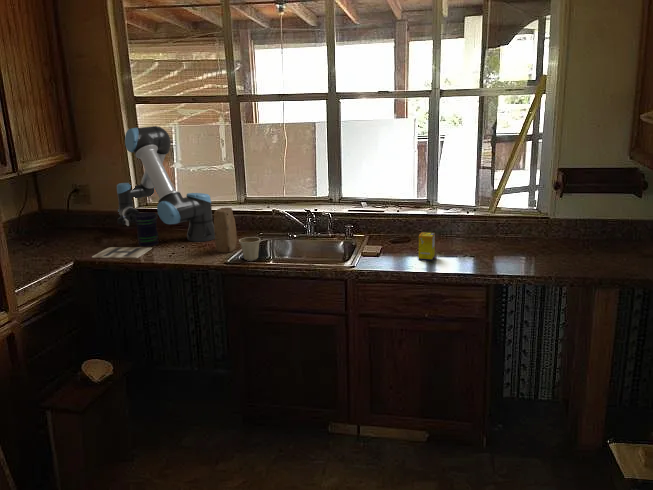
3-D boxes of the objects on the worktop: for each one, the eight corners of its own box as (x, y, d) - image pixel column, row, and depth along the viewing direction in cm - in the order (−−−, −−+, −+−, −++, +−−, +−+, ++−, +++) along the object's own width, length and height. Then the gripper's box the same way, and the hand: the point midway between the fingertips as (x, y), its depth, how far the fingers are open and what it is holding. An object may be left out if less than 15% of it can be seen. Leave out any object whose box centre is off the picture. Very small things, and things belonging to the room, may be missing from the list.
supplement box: (421, 256, 251) (421, 232, 248) (434, 257, 249) (435, 232, 246) (418, 260, 246) (418, 235, 243) (432, 261, 244) (432, 236, 241)
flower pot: (251, 262, 250) (249, 243, 248) (235, 259, 256) (234, 240, 253) (266, 257, 257) (264, 238, 255) (250, 254, 263) (249, 236, 260)
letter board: (152, 248, 278) (151, 247, 278) (137, 258, 262) (136, 256, 262) (109, 248, 281) (109, 247, 281) (91, 257, 265) (91, 256, 265)
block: (229, 253, 265) (225, 211, 260) (214, 252, 267) (210, 210, 262) (239, 247, 275) (236, 206, 269) (225, 246, 277) (222, 205, 272)
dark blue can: (162, 240, 292) (158, 212, 288) (154, 246, 282) (151, 216, 278) (143, 241, 293) (139, 212, 289) (135, 246, 283) (131, 216, 279)
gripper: (155, 218, 316) (166, 225, 299) (108, 224, 304) (117, 232, 286) (153, 204, 314) (165, 210, 297) (106, 210, 302) (115, 217, 284)
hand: (141, 221), depth 291 cm, fingers open, 13 cm apart
